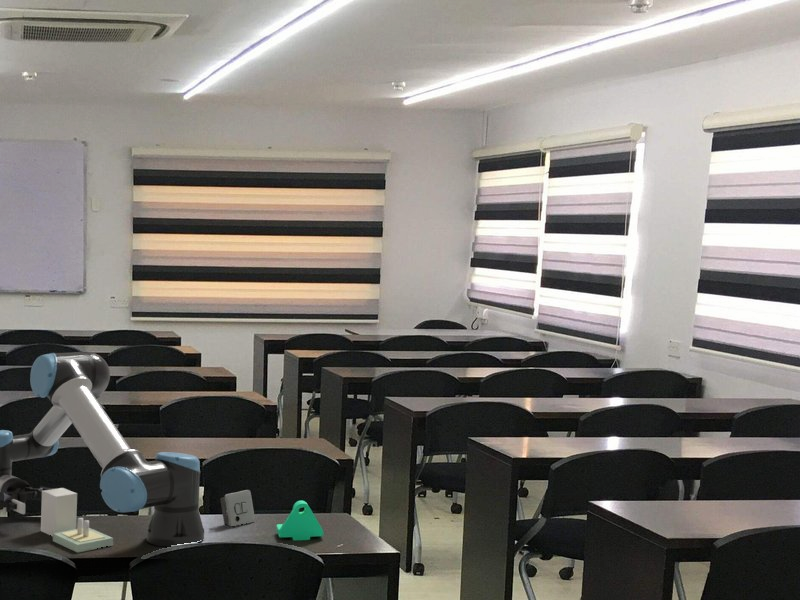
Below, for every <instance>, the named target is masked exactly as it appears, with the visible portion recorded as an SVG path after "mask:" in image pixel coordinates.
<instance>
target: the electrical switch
mask: <svg viewBox="0 0 800 600" xmlns="http://www.w3.org/2000/svg"><path fill="white" fill-rule="evenodd" d="M220 505H221V513H222V517H223V524H227V525H226V526H229V527H230V526H235V527H237V526H236V525H239V526H242V525H241V524H243V525H246V523H247V524H252V523H254V522H255V521H256V518H255V512H254V505H253V499H252V493H251V490H250V489H245V490H240V491H236V492H231V493H226V494H225V495H224V497H220Z"/></svg>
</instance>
